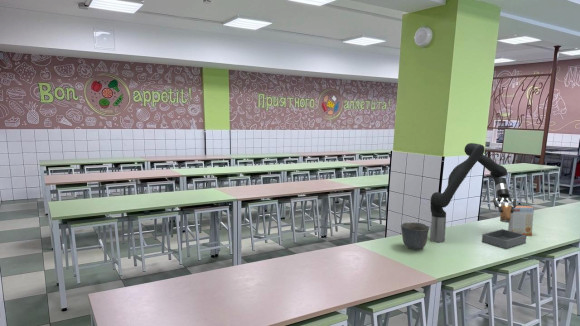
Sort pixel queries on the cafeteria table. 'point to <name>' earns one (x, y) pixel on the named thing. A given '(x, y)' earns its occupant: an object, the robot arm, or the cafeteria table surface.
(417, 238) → the dark grey plant pot
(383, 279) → the cafeteria table surface
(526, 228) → the cracker box
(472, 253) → the cafeteria table surface
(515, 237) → the gray tray
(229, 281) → the cafeteria table surface
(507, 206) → the tin can
